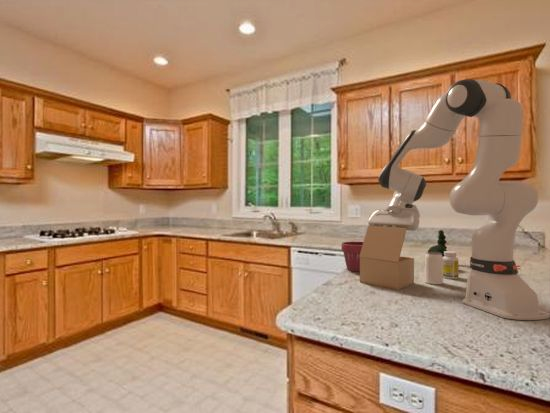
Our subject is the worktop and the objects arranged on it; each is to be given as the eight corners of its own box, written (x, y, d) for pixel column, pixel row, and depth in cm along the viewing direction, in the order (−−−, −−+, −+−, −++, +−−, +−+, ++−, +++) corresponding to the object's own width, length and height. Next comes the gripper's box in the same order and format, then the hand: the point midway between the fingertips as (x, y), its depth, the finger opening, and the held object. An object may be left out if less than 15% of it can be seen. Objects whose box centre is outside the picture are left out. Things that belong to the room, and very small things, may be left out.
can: (445, 285, 125) (445, 254, 125) (427, 284, 126) (427, 254, 126) (440, 281, 132) (440, 252, 131) (423, 280, 133) (423, 251, 133)
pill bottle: (454, 276, 141) (454, 250, 140) (461, 279, 134) (461, 253, 134) (439, 275, 141) (439, 250, 141) (445, 279, 135) (445, 252, 135)
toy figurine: (431, 265, 174) (424, 268, 153) (432, 229, 175) (425, 228, 154) (451, 267, 168) (446, 271, 148) (452, 230, 170) (447, 229, 149)
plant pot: (335, 268, 158) (335, 242, 158) (358, 265, 164) (358, 240, 164) (354, 274, 145) (354, 245, 145) (378, 271, 151) (378, 243, 151)
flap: (368, 226, 135) (368, 225, 135) (406, 228, 124) (406, 227, 123) (359, 257, 130) (359, 256, 130) (398, 262, 119) (397, 261, 119)
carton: (376, 276, 140) (377, 253, 140) (413, 283, 129) (414, 258, 129) (359, 282, 130) (359, 257, 130) (398, 289, 119) (398, 262, 119)
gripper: (372, 205, 142) (360, 228, 135) (419, 205, 127) (409, 231, 120) (377, 215, 145) (366, 238, 138) (424, 216, 130) (414, 242, 123)
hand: (386, 235), depth 129 cm, fingers closed
